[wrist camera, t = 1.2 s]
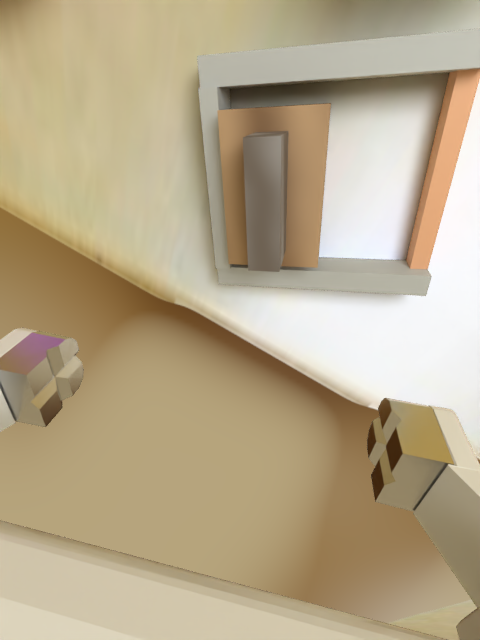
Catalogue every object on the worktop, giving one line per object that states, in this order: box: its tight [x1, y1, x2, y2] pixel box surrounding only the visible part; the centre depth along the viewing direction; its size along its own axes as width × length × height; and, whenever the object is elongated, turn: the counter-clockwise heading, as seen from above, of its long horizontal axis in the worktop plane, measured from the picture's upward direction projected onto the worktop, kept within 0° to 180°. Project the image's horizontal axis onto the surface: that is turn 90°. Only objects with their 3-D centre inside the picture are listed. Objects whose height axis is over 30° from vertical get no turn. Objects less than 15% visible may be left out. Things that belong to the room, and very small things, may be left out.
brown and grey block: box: [217, 103, 331, 272], centre depth 27 cm, size 8×12×10 cm, turn 2°
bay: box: [197, 28, 480, 296], centre depth 29 cm, size 20×19×4 cm
